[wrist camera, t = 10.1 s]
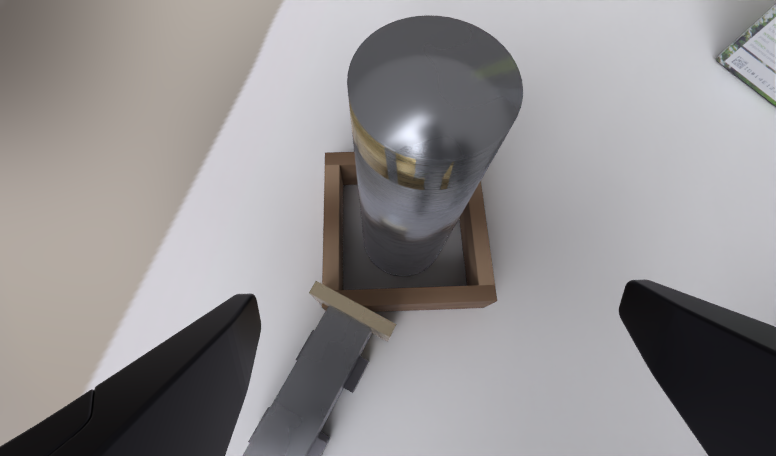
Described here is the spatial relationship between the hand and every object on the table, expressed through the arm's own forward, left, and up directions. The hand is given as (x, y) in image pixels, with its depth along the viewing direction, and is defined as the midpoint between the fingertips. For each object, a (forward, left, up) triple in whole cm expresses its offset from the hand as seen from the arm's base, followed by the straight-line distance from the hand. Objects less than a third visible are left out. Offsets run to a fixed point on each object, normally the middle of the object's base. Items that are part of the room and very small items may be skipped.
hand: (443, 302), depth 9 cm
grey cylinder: (+3, +4, -12) cm, 13 cm away
